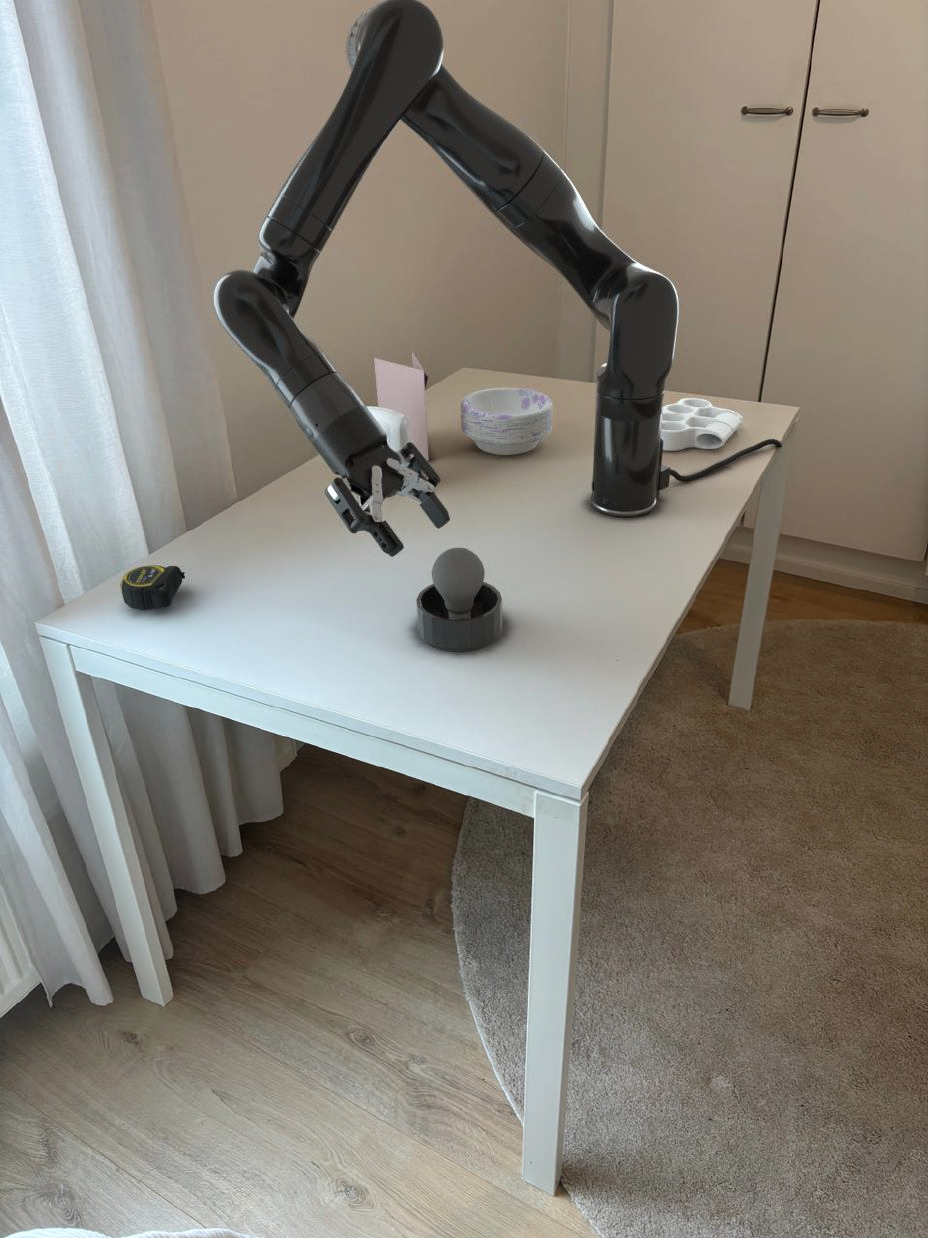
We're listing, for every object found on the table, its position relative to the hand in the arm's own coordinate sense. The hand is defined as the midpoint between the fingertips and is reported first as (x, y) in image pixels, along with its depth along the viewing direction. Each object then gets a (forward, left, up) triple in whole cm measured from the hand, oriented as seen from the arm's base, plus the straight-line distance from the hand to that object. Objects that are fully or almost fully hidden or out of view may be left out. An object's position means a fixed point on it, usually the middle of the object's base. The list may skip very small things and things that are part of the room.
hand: (422, 538), depth 109 cm
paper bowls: (-46, -32, -11) cm, 57 cm away
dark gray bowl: (-1, +5, -10) cm, 12 cm away
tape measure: (+21, -27, -11) cm, 36 cm away
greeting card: (-33, -43, -11) cm, 55 cm away
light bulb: (-1, +5, -10) cm, 12 cm away
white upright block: (-21, -35, -11) cm, 42 cm away
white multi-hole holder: (-71, -13, -11) cm, 73 cm away
